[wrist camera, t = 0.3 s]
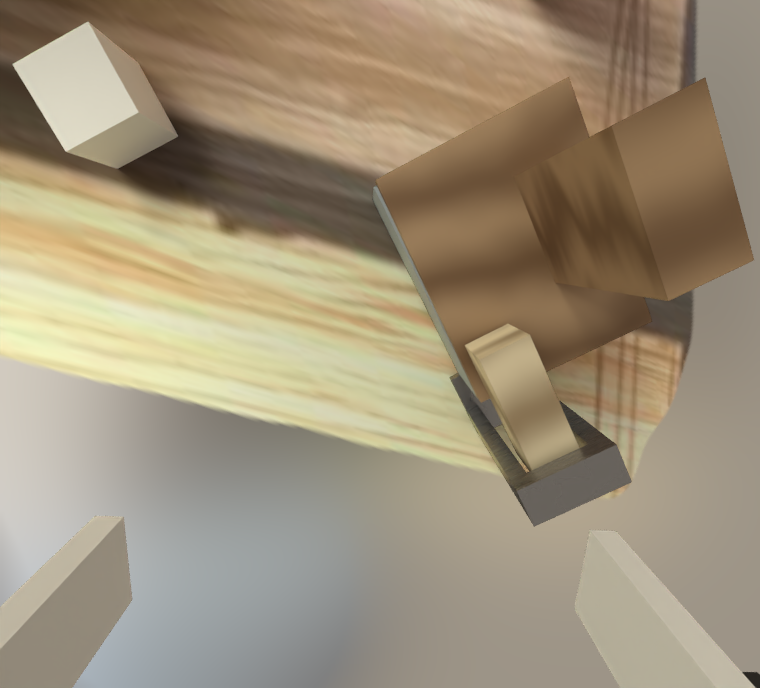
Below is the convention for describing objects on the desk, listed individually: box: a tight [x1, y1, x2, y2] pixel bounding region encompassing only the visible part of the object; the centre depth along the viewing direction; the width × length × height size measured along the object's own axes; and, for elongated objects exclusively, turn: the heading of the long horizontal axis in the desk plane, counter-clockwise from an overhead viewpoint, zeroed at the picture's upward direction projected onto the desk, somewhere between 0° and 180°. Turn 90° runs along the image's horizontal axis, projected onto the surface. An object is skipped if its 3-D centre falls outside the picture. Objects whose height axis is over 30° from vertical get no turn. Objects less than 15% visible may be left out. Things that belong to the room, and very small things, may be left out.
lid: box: [375, 77, 754, 402], centre depth 23 cm, size 18×14×12 cm
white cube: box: [12, 22, 178, 169], centre depth 30 cm, size 6×6×6 cm
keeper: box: [450, 373, 632, 526], centre depth 32 cm, size 6×7×14 cm
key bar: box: [465, 324, 579, 471], centre depth 28 cm, size 10×4×4 cm, turn 27°
